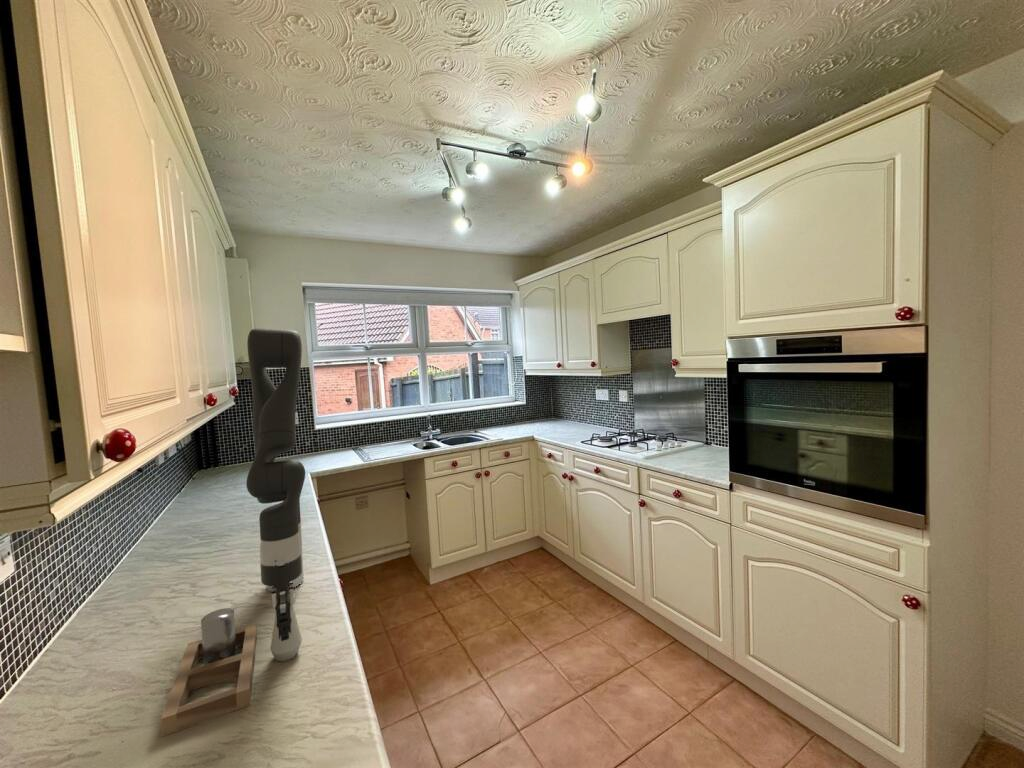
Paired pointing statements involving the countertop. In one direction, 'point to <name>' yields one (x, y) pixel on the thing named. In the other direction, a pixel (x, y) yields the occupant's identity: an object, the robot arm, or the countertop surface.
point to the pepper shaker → (218, 635)
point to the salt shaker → (289, 646)
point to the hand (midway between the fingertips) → (285, 635)
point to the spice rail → (196, 677)
